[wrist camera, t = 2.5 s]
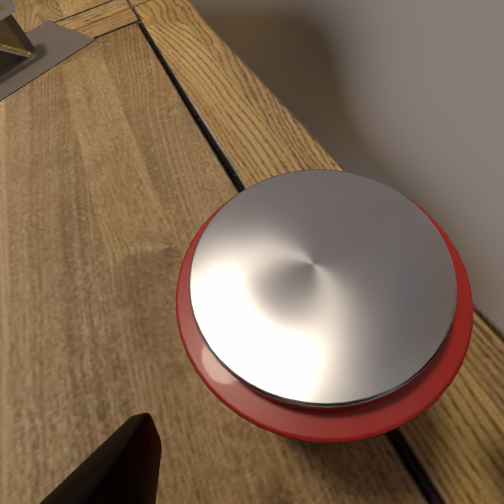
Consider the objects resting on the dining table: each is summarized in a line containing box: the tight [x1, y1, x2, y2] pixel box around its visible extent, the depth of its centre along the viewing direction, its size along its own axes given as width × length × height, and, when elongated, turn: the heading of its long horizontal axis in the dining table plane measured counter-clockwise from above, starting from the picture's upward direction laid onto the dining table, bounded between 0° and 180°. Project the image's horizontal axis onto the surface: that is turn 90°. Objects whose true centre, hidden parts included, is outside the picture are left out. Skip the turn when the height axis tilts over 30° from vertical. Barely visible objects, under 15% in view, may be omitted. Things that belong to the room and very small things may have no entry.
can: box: [176, 169, 473, 443], centre depth 12 cm, size 6×6×12 cm
